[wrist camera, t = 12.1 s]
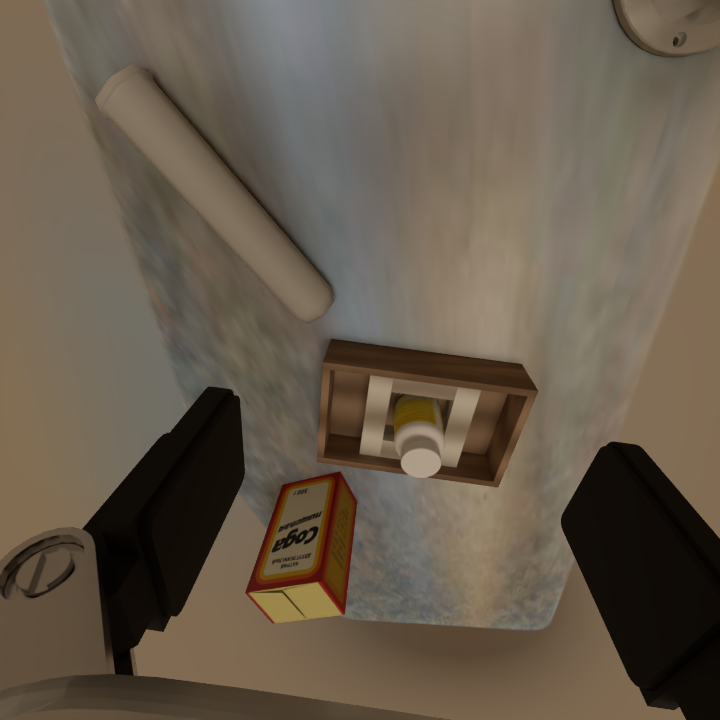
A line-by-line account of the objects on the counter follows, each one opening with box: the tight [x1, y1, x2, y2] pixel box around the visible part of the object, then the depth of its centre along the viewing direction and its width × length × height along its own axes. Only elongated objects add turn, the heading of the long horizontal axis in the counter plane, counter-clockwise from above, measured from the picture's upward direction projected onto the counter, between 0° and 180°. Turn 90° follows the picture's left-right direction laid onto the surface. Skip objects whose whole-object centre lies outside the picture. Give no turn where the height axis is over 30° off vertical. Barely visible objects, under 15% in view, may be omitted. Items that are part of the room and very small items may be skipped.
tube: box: [95, 64, 334, 323], centre depth 34 cm, size 5×5×25 cm
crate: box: [317, 339, 538, 487], centre depth 43 cm, size 14×22×6 cm, turn 84°
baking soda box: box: [246, 472, 357, 623], centre depth 48 cm, size 10×6×16 cm
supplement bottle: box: [394, 393, 445, 478], centre depth 40 cm, size 5×5×10 cm
